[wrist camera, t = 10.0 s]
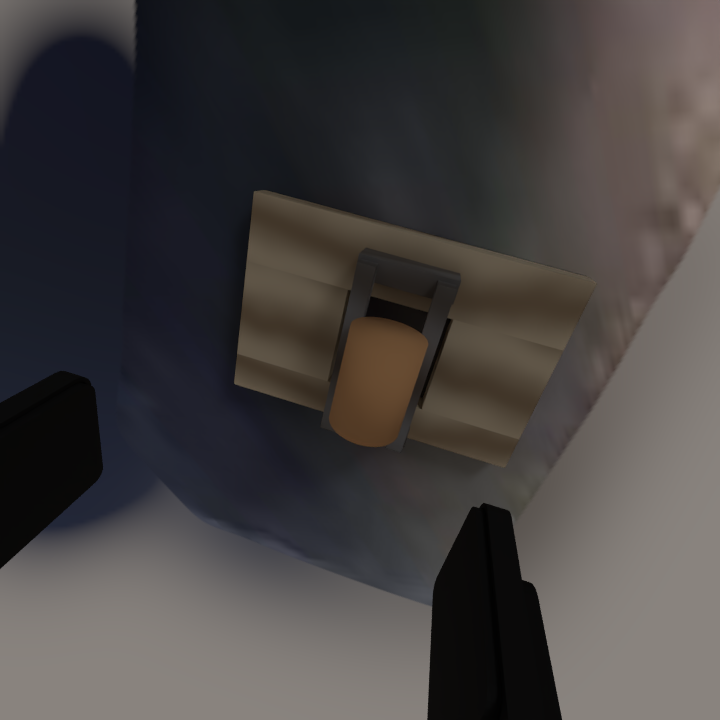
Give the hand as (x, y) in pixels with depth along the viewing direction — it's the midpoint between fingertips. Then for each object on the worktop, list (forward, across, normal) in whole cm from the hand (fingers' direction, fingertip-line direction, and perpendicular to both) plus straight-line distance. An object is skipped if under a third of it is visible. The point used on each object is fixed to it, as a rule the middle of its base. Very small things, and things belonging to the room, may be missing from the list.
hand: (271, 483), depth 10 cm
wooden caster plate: (+24, -1, +6) cm, 24 cm away
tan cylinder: (+19, -1, +6) cm, 20 cm away
